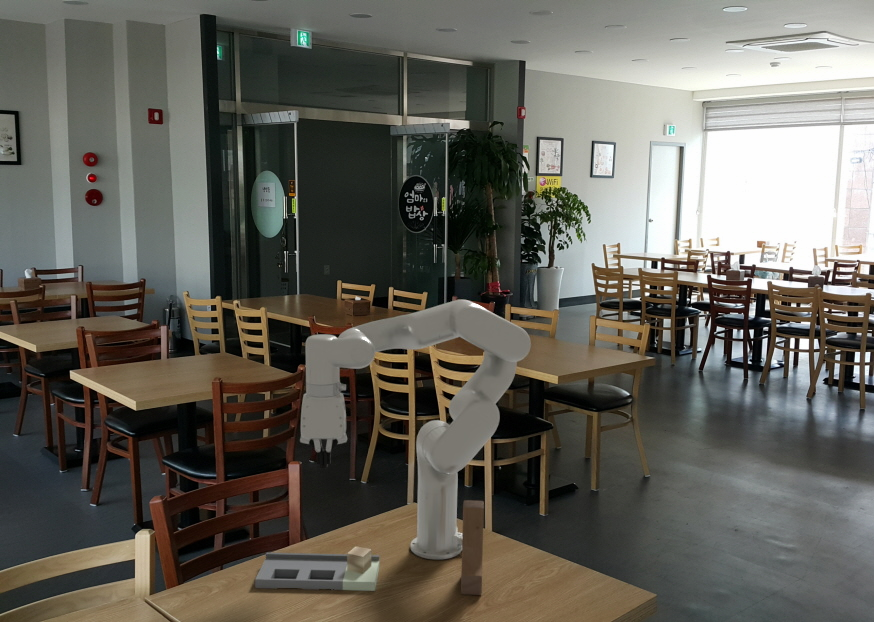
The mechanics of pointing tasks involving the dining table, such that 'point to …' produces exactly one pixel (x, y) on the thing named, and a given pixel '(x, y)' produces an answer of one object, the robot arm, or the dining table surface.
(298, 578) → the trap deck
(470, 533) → the wooden block
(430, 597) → the dining table surface
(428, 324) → the robot arm
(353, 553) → the ash cube
